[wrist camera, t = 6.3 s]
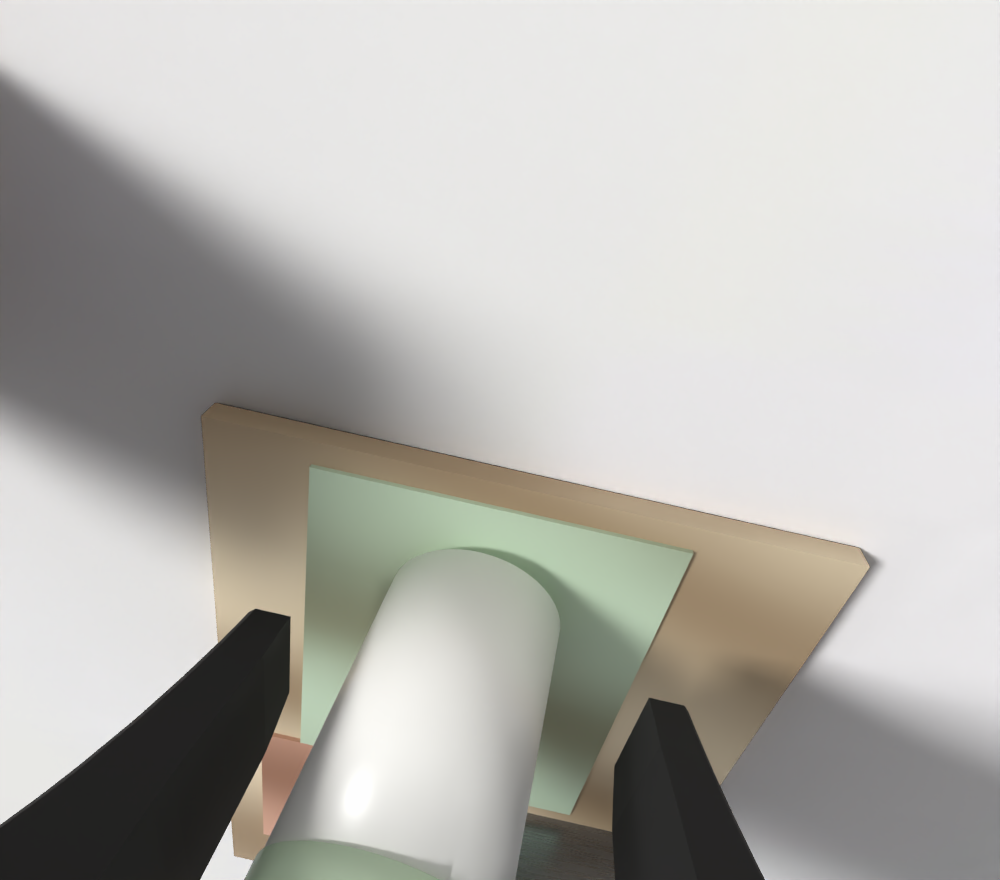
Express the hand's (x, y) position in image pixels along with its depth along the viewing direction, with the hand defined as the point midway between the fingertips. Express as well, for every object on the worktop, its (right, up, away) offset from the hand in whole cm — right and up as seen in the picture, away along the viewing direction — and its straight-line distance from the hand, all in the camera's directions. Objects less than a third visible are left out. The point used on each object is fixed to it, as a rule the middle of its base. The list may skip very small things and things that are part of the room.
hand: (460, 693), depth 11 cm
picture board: (0, -3, +5) cm, 6 cm away
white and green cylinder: (0, +1, +1) cm, 2 cm away
